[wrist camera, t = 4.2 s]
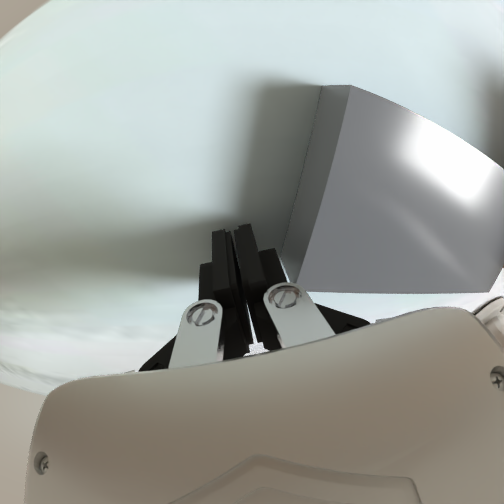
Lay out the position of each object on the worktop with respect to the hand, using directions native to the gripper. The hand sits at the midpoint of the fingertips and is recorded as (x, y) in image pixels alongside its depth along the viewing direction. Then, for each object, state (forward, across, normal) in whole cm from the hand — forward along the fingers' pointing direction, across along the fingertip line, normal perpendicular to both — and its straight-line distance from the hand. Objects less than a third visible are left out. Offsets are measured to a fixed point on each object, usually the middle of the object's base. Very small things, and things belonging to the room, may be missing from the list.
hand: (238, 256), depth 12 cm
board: (+1, -11, 0) cm, 11 cm away
